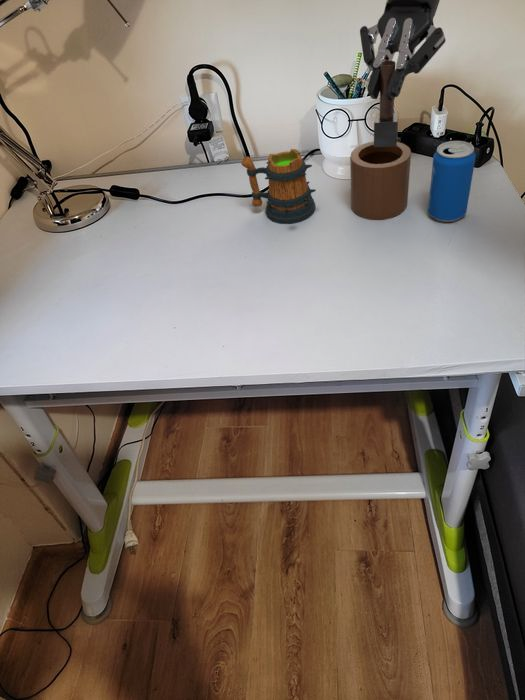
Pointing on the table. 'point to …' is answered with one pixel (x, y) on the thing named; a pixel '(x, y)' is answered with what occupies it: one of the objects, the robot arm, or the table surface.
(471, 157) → the beverage can
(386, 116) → the cylinder on square base
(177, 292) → the table surface
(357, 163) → the brown pencil cup
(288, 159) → the mug
